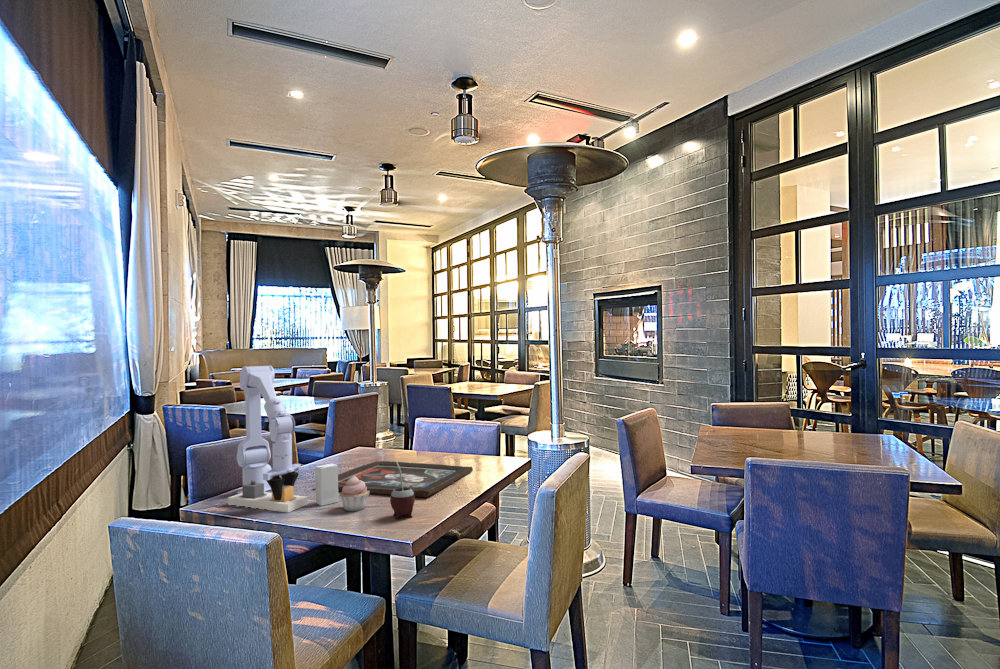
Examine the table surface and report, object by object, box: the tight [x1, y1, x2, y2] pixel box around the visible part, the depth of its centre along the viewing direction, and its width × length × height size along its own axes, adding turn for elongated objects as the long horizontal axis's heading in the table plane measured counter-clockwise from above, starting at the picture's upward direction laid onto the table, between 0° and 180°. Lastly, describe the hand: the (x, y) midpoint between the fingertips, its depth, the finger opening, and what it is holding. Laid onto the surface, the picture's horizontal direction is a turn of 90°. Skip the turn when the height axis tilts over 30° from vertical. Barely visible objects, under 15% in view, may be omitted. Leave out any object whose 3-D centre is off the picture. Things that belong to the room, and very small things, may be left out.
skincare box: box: [314, 462, 339, 506], centre depth 183 cm, size 6×4×12 cm
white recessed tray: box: [227, 491, 309, 513], centre depth 182 cm, size 9×24×3 cm, turn 69°
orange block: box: [271, 485, 295, 502], centre depth 180 cm, size 4×5×6 cm
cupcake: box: [338, 476, 370, 512], centre depth 176 cm, size 9×9×10 cm
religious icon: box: [338, 460, 474, 498], centre depth 211 cm, size 40×45×3 cm
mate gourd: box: [389, 461, 416, 521], centre depth 168 cm, size 8×8×15 cm
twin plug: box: [241, 481, 264, 499], centre depth 184 cm, size 4×5×7 cm
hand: (282, 497), depth 180 cm, fingers closed on orange block, 4 cm apart
